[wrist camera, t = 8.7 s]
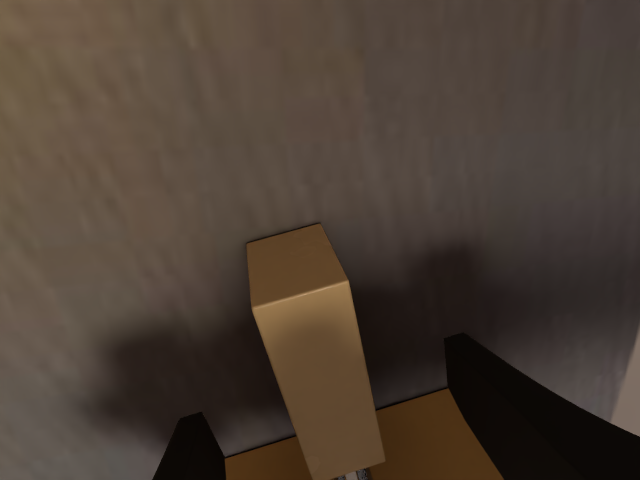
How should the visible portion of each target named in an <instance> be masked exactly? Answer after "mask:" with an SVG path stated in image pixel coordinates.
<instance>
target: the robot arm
mask: <svg viewBox="0 0 640 480" xmlns="http://www.w3.org/2000/svg"><path fill="white" fill-rule="evenodd" d="M444 346H445V358H446V370H447V382H448V388H449V390H450V392H451V394H452V396H453V398H454V400H455V402H456V404H457V406H458V408H459V410H460V412H461V414H462V416H463V418H464V420H465V421H466V423H467V424H468V426H469V427H470V429H471V431H472V432H473V434H474V435H475V437H476V438H477V440H478V441H479V443H480V444H481V446H482V447H483V449H484V450H485V452H486V453H487V455H488V456H489V458H490V459H491V461H492V462H493V464H494V465H495V467H496V468H497V470H498V471H499V473H500V474H501V476H502V477H503V479H504V480H640V437H639V436H637V435H634V434H632V433H630V432H628V431H625V430H624V429H621V428H619V427H617V426H615V425H613V424H611V423H609V422H607V421H605V420H603V419H601V418H599V417H597V416H595V415H593V414H591V413H589V412H588V411H586V410H584V409H582V408H580V407H578V406H576V405H575V404H573V403H571V402H569V401H567V400H566V399H564V398H562V397H561V396H559V395H557V394H556V393H554V392H552V391H550V390H549V389H547V388H545V387H544V386H542V385H541V384H539V383H537V382H536V381H534V380H533V379H531V378H530V377H528V376H526V375H525V374H523V373H522V372H520V371H519V370H517V369H516V368H514V367H513V366H511V365H510V364H508V363H507V362H505V361H504V360H502V359H501V358H499V357H498V356H497V355H495V354H494V353H492V352H491V351H489V350H488V349H487V348H485V347H484V346H482V345H481V344H480V343H478V342H477V341H475V340H474V339H473V338H471V337H470V336H468V335H467V334H465V333H464V332H463V333H460V334H457V335H453V336H450V337H447V338H444ZM152 480H226V469H225V457H224V455H223V453H222V451H221V449H220V447H219V445H218V443H217V441H216V439H215V437H214V435H213V433H212V431H211V429H210V427H209V425H208V423H207V421H206V419H205V417H204V415H203V413H202V412H199V413H196V414H193V415H189V416H186V417H183V418H180V420H179V421H178V423H177V425H176V428H175V430H174V432H173V435H172V437H171V439H170V442H169V444H168V446H167V449H166V451H165V453H164V455H163V458H162V460H161V462H160V464H159V466H158V469H157V471H156V473H155V475H154V477H153V479H152Z"/></svg>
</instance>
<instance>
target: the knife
mask: <svg viewBox="0 0 640 480" xmlns="http://www.w3.org/2000/svg"><path fill="white" fill-rule="evenodd" d="M246 249H247V261H248V272H249V284H250V296H251V308H252V312H253V315H254V317H255V320H256V323H257V326H258V329H259V331H260V334H261V337H262V340H263V343H264V346H265V348H266V351H267V354H268V357H269V360H270V362H271V365H272V368H273V371H274V374H275V377H276V379H277V382H278V385H279V388H280V391H281V393H282V396H283V399H284V402H285V405H286V408H287V410H288V413H289V416H290V419H291V422H292V424H293V427H294V430H295V433H296V436H297V438H298V441H299V444H300V447H301V450H302V453H303V455H304V458H305V461H306V464H307V467H308V469H309V472H310V475H311V478H312V480H331V479H334V478H337V477H340V476H343V475H344V477H345V480H359V478H358V474H357V471H358V470H361V469H364V468H367V467H370V466H373V465H376V464H379V463H382V462H385V461H386V458H385V454H384V449H383V444H382V439H381V434H380V429H379V425H378V420H377V415H376V410H375V405H374V400H373V396H372V391H371V386H370V381H369V376H368V371H367V367H366V362H365V357H364V352H363V347H362V342H361V338H360V333H359V328H358V323H357V318H356V313H355V308H354V304H353V299H352V294H351V289H350V284H349V280H348V278H347V276H346V274H345V272H344V270H343V268H342V266H341V264H340V262H339V260H338V258H337V256H336V254H335V252H334V250H333V248H332V246H331V244H330V242H329V240H328V238H327V236H326V234H325V232H324V230H323V228H322V225H321V224H316V225H312V226H309V227H305V228H301V229H298V230H294V231H291V232H287V233H283V234H280V235H276V236H272V237H269V238H265V239H261V240H258V241H254V242H251V243H247V244H246Z"/></svg>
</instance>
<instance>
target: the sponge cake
mask: <svg viewBox="0 0 640 480" xmlns="http://www.w3.org/2000/svg"><path fill="white" fill-rule="evenodd" d="M376 415H377V420H378V425H379V429H380V434H381V439H382V444H383V449H384V454H385V458H386V461H385V462H382V463H379V464H376V465H373V466H370V467H367V468H365V470H366V474H367V478H368V480H504V479H503V477H502V476H501V474H500V473H499V471H498V470H497V468H496V467H495V465H494V464H493V462H492V461H491V459H490V458H489V456H488V455H487V453H486V452H485V450H484V449H483V447H482V446H481V444H480V443H479V441H478V440H477V438H476V437H475V435H474V434H473V432H472V431H471V429H470V427H469V426H468V424H467V423H466V421H465V420H464V418H463V416H462V414H461V412H460V410H459V408H458V406H457V404H456V402H455V400H454V398H453V396H452V394H451V392H450V390H449V388H447V389H444V390H441V391H438V392H435V393H431V394H428V395H425V396H422V397H419V398H416V399H412V400H409V401H406V402H403V403H400V404H397V405H393V406H390V407H387V408H384V409H381V410H378V411H376ZM225 469H226V480H312V478H311V475H310V472H309V469H308V467H307V464H306V461H305V458H304V455H303V453H302V450H301V447H300V444H299V441H298V438H297V436H296V437H293V438H289V439H286V440H283V441H280V442H277V443H274V444H270V445H267V446H264V447H261V448H258V449H255V450H251V451H248V452H245V453H242V454H239V455H236V456H232V457H229V458H226V459H225ZM331 480H338V478H334V479H331Z"/></svg>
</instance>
